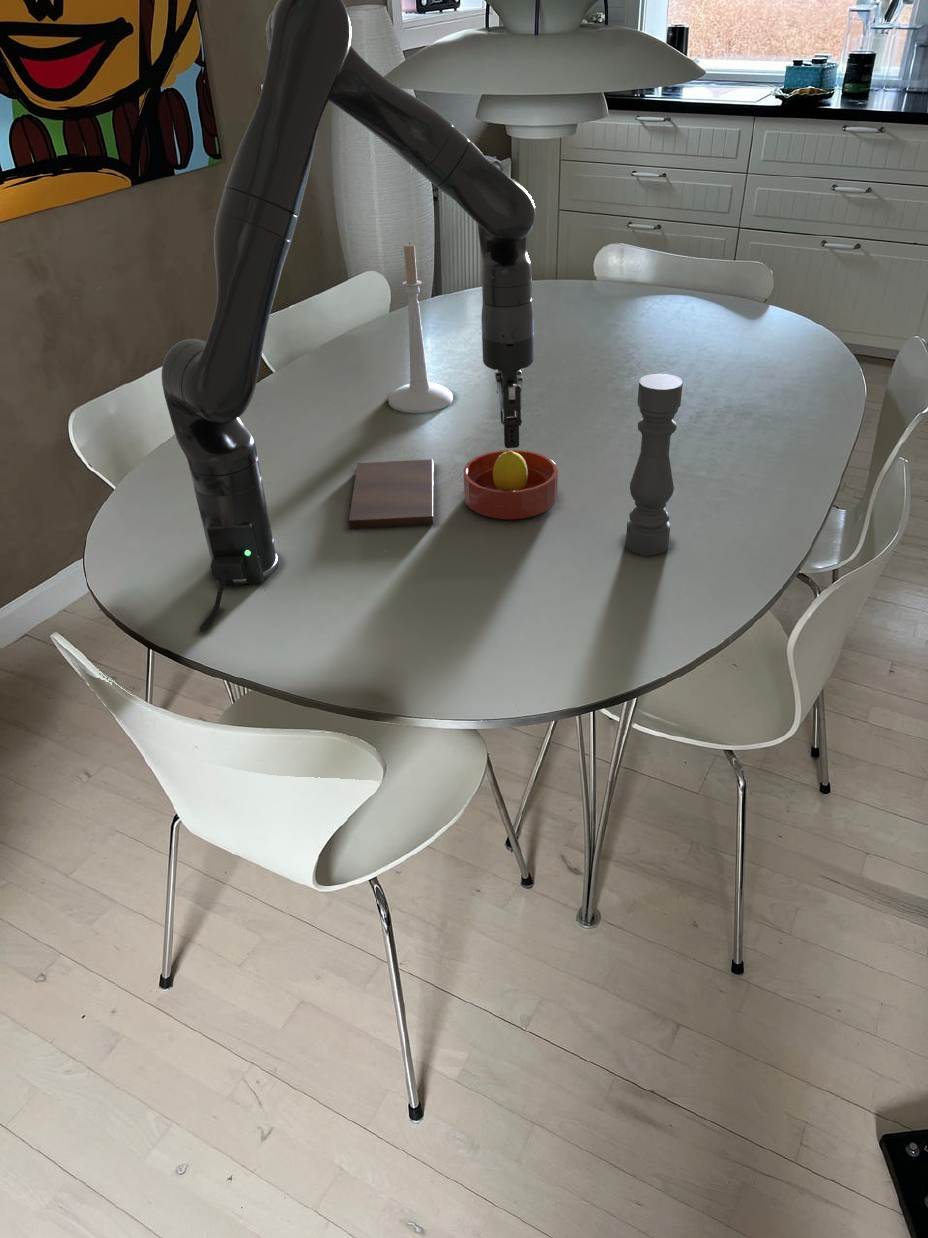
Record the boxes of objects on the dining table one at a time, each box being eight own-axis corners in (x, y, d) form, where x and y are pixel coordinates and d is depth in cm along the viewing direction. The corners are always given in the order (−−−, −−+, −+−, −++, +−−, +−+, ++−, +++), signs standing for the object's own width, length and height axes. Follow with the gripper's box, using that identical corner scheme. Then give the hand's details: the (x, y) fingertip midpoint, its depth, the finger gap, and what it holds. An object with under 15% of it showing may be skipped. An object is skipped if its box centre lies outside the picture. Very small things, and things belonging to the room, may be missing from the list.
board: (433, 524, 144) (432, 516, 143) (349, 528, 144) (348, 520, 143) (433, 466, 160) (432, 459, 159) (358, 470, 160) (357, 462, 159)
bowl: (561, 519, 144) (562, 489, 140) (466, 524, 144) (464, 494, 140) (551, 475, 156) (552, 447, 152) (463, 480, 156) (462, 452, 153)
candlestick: (379, 395, 187) (363, 239, 170) (438, 383, 191) (428, 229, 174) (402, 417, 178) (387, 255, 160) (462, 404, 182) (455, 244, 164)
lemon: (525, 505, 147) (524, 459, 142) (490, 503, 148) (489, 457, 143) (530, 489, 151) (530, 444, 146) (496, 487, 152) (495, 442, 147)
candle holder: (639, 529, 140) (652, 369, 126) (676, 541, 137) (693, 378, 122) (617, 546, 136) (628, 383, 122) (654, 560, 133) (670, 393, 118)
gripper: (479, 316, 140) (483, 417, 149) (484, 349, 128) (488, 456, 137) (529, 313, 140) (529, 414, 149) (538, 346, 128) (538, 453, 137)
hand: (509, 434), depth 143 cm, fingers open, 8 cm apart
